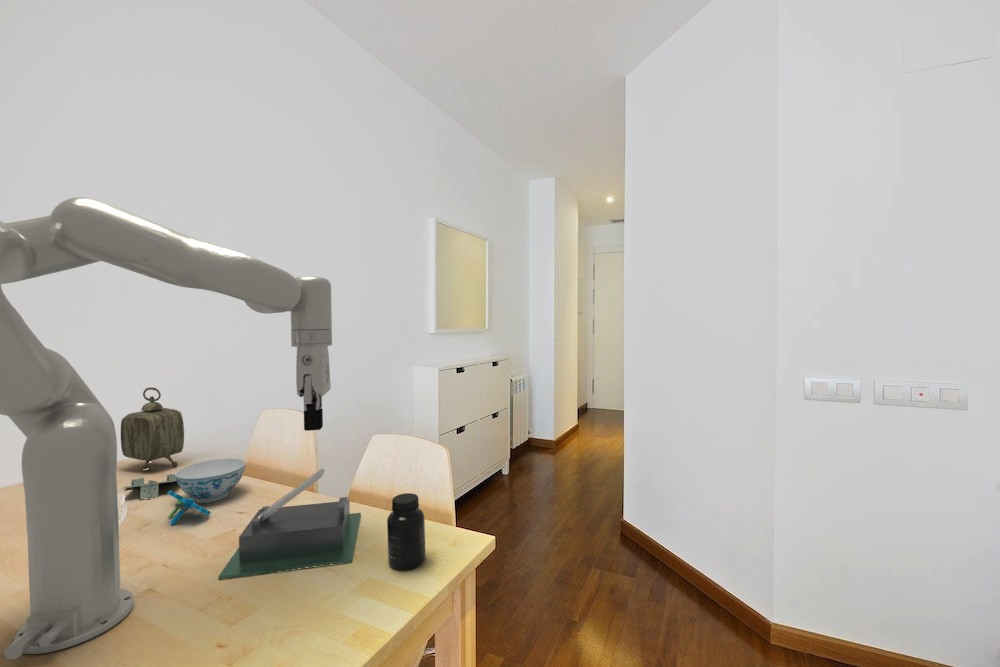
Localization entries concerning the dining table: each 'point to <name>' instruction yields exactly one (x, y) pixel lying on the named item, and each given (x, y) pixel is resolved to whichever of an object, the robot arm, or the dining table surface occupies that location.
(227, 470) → the chinaware
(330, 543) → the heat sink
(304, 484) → the steel strap
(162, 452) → the tabletop clock
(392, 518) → the supplement bottle
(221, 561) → the dining table surface
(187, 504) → the gear
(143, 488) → the metal bracket
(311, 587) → the dining table surface
